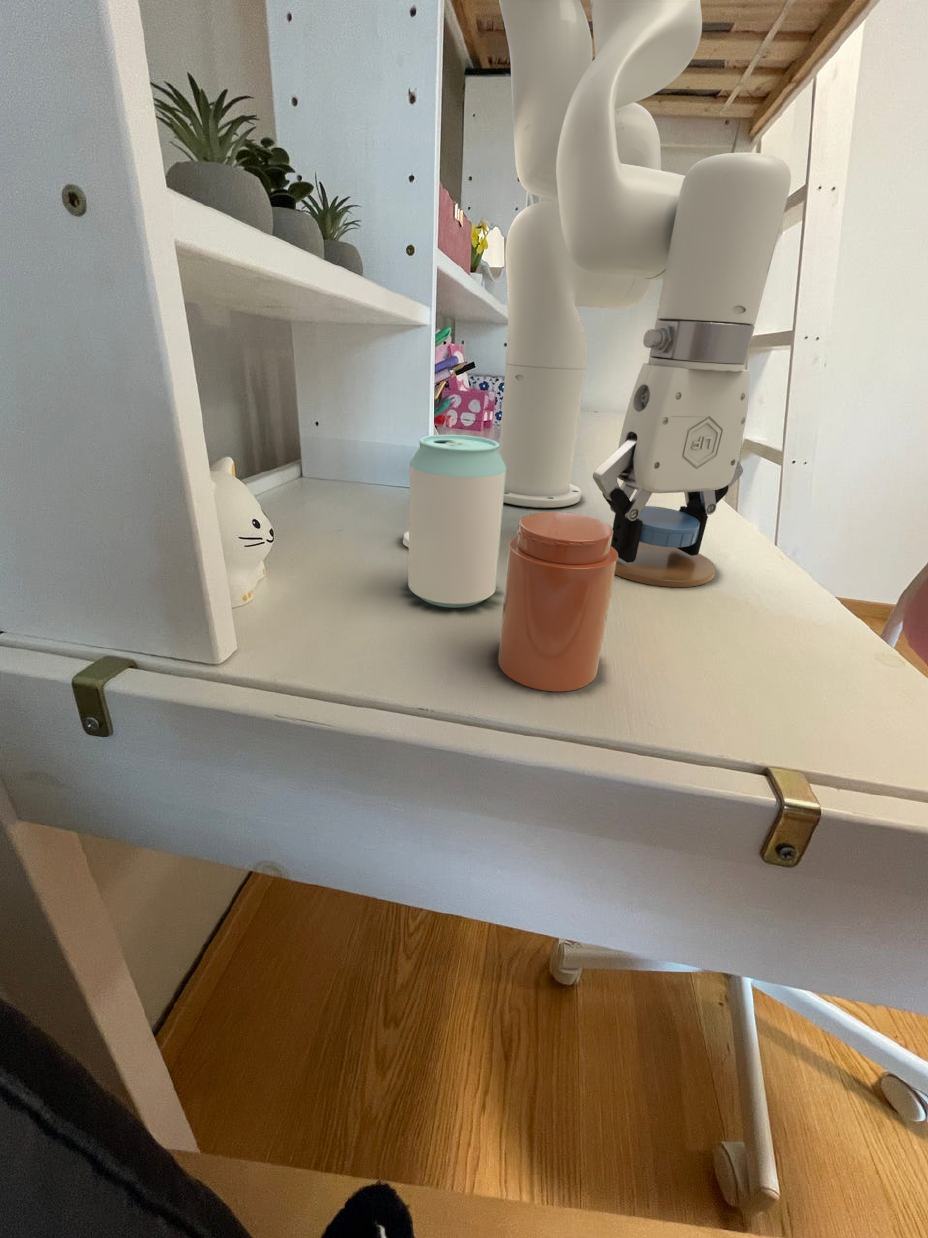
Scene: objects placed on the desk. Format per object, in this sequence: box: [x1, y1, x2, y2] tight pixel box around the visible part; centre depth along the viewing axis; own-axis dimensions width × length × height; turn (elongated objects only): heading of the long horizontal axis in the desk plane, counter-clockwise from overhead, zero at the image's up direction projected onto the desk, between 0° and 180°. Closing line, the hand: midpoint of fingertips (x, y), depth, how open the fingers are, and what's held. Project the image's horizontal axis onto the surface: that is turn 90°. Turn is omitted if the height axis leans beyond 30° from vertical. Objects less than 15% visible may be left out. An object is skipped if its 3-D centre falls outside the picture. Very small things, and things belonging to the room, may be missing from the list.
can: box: [407, 434, 506, 608], centre depth 45 cm, size 7×7×12 cm
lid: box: [637, 505, 700, 548], centre depth 55 cm, size 7×7×2 cm
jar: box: [497, 511, 618, 692], centre depth 36 cm, size 6×6×9 cm
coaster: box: [615, 542, 717, 588], centre depth 56 cm, size 11×11×1 cm
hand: (653, 552), depth 56 cm, fingers closed on lid, 6 cm apart
